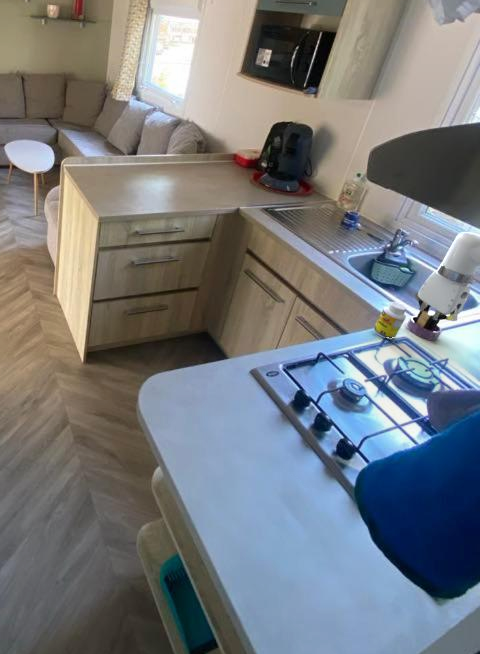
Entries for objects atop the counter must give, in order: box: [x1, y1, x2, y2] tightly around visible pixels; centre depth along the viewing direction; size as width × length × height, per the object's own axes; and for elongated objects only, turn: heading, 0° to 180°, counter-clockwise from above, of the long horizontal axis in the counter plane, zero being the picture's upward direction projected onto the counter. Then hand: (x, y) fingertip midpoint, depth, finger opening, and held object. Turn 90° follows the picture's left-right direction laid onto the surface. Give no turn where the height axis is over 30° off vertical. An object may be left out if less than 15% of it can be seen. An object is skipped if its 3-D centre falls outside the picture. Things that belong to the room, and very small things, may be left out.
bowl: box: [406, 315, 443, 341], centre depth 128 cm, size 8×8×3 cm
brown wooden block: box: [416, 310, 436, 330], centre depth 127 cm, size 4×2×6 cm, turn 104°
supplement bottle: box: [373, 301, 407, 340], centre depth 122 cm, size 6×6×10 cm
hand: (424, 325), depth 128 cm, fingers closed on brown wooden block, 2 cm apart
